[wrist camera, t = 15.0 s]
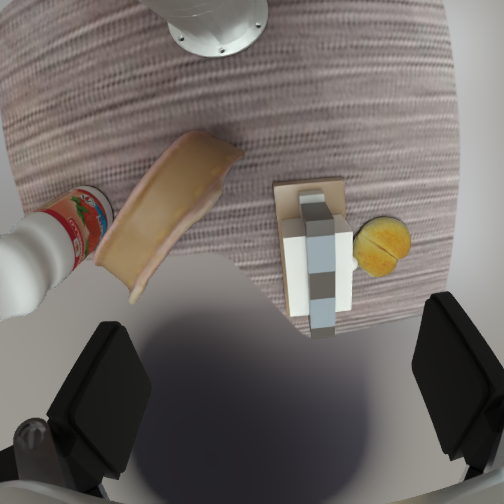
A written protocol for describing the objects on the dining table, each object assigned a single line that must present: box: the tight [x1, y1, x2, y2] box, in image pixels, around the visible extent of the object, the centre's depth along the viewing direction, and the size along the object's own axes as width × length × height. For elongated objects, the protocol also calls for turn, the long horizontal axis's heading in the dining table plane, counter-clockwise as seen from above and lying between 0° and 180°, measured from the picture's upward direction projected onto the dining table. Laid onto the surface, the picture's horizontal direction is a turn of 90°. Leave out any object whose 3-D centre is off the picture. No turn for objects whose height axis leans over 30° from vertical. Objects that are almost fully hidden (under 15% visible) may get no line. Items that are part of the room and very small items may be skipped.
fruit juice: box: [0, 186, 113, 321], centre depth 32 cm, size 9×9×28 cm
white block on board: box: [273, 177, 358, 317], centre depth 42 cm, size 20×10×8 cm, turn 8°
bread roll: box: [353, 217, 411, 277], centre depth 43 cm, size 8×9×4 cm
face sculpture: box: [93, 131, 244, 304], centre depth 35 cm, size 20×7×17 cm, turn 141°
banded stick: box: [301, 202, 336, 339], centre depth 39 cm, size 16×3×6 cm, turn 7°
